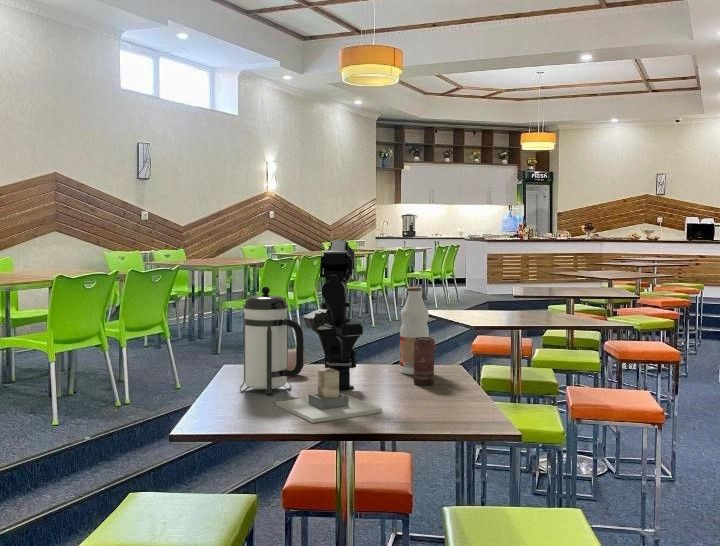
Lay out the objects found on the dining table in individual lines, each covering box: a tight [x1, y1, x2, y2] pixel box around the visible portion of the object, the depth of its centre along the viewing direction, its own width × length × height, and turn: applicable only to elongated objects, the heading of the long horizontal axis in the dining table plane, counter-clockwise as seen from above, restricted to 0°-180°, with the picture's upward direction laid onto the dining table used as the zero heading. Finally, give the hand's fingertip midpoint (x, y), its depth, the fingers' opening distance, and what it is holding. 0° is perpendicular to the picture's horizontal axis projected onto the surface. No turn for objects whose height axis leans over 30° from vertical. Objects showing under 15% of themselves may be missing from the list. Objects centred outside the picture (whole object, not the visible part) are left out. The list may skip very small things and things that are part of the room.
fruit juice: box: [399, 286, 430, 376], centre depth 231 cm, size 9×9×28 cm
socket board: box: [276, 392, 383, 424], centre depth 183 cm, size 20×20×1 cm
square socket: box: [307, 392, 349, 410], centre depth 183 cm, size 8×8×2 cm
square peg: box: [317, 368, 340, 399], centre depth 183 cm, size 4×4×9 cm
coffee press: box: [239, 286, 304, 397], centre depth 203 cm, size 17×16×30 cm
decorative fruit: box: [288, 344, 307, 371], centre depth 225 cm, size 9×8×10 cm
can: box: [412, 336, 436, 387], centre depth 214 cm, size 6×6×14 cm
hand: (335, 358), depth 185 cm, fingers open, 9 cm apart
